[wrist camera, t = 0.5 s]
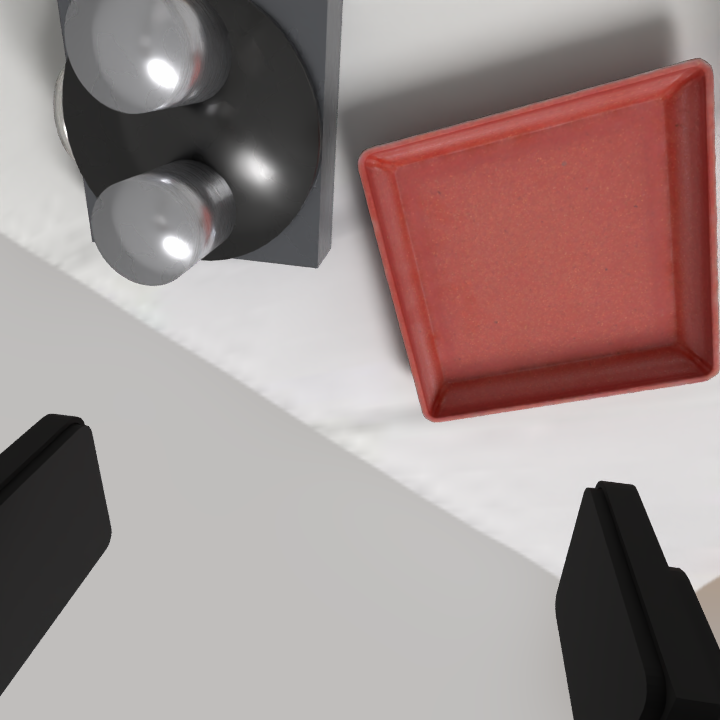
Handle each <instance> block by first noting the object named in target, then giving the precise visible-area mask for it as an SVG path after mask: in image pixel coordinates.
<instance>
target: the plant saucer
mask: <svg viewBox="0 0 720 720" xmlns="http://www.w3.org/2000/svg"><path fill="white" fill-rule="evenodd" d="M714 105H715V102H714V77H713V70H712V67H711V65H710V64H709V63H708V62H706V61H704V60H703V59H701V58H695V59H691V60H687V61H683V62H680V63H677V64H673V65H670V66H666V67H662V68H658V69H655V70H651V71H648V72H644V73H640V74H637V75H633V76H630V77H626V78H623V79H619V80H615V81H611V82H608V83H604V84H600V85H597V86H593V87H589V88H586V89H582V90H579V91H575V92H572V93H568V94H564V95H561V96H557V97H553V98H549V99H546V100H543V101H539V102H535V103H531V104H528V105H525V106H521V107H517V108H513V109H509V110H506V111H503V112H499V113H494V114H491V115H488V116H485V117H481V118H478V119H474V120H470V121H466V122H462V123H459V124H455V125H451V126H448V127H444V128H441V129H437V130H433V131H429V132H426V133H422V134H418V135H414V136H410V137H407V138H403V139H400V140H396V141H392V142H389V143H385V144H380V145H376V146H373V147H370V148H367V149H366V150H364V151H363V152H362V153H361V154H360V156H359V158H358V171H359V174H360V178H361V182H362V186H363V189H364V193H365V198H366V201H367V206H368V210H369V214H370V217H371V220H372V224H373V228H374V233H375V236H376V240H377V244H378V248H379V252H380V255H381V259H382V263H383V267H384V272H385V276H386V279H387V282H388V285H389V288H390V292H391V297H392V300H393V304H394V308H395V311H396V315H397V319H398V322H399V327H400V331H401V334H402V337H403V341H404V345H405V349H406V352H407V356H408V360H409V364H410V368H411V372H412V375H413V378H414V382H415V386H416V390H417V394H418V398H419V402H420V405H421V409H422V413H423V415H424V417H425V418H426V419H428V420H429V421H431V422H445V421H451V420H457V419H464V418H472V417H477V416H484V415H489V414H496V413H502V412H509V411H515V410H522V409H529V408H535V407H542V406H548V405H555V404H561V403H567V402H574V401H580V400H589V399H593V398H599V397H608V396H613V395H619V394H626V393H634V392H640V391H645V390H654V389H659V388H666V387H674V386H680V385H685V384H693V383H698V382H704V381H708V380H709V379H711V378H712V377H714V376H716V375H717V374H718V373H719V370H720V351H719V343H720V337H719V334H720V330H719V301H718V284H719V282H718V268H717V262H718V259H717V248H718V245H717V206H716V174H715V162H716V155H715V117H714Z"/></svg>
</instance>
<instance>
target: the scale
mask: <svg viewBox="0 0 720 720" xmlns="http://www.w3.org/2000/svg"><path fill="white" fill-rule="evenodd" d="M206 1H207V2H208V3H209V4H211V5H212V7H213V8H214V9H215V10H216V11H217V12H218V14H219V15H220V17H221V18H222V20H223V22H224V24H225V26H226V28H227V31H228V34H229V37H230V42H231V50H232V61H231V67H230V71H229V75H228V77H227V79H226V81H225V83H224V85H223V86H222V88H221V89H220V90H219V91H218V92H217V93H216V94H215V95H214V96H212V97H211V98H210V99H207V100H205V101H203V102H199V103H195V104H189V105H184V106H178V107H173V108H167V109H162V110H156V111H151V112H146V113H139V114H129V113H123V112H119V111H116V110H114V109H111V108H109V107H107V106H106V105H104V104H102V103H101V102H99V101H98V100H97V99H96V98H94V97H93V96H92V95H91V94H90V93H89V92H88V91H87V89H86V88H85V87H84V86H83V85H82V83H81V82H80V80H79V79H78V77H77V75H76V73H75V72H74V70H73V68H72V65H71V63H70V60H69V57H68V54H67V50H66V44H65V35H64V29H65V19H66V14H67V10H68V7H69V5H70V2H71V0H58V7H59V14H60V21H61V28H62V35H63V41H64V48H65V55H66V65H65V67H64V68H63V69H62V71H61V72H60V74H59V76H58V79H57V82H56V85H55V90H54V104H53V105H54V117H55V123H56V128H57V131H58V134H59V137H60V140H61V142H62V144H63V146H64V148H65V150H66V151H67V153H68V154H69V155H70V156H71V157H72V158H73V159H74V160H75V161H76V163H77V165H78V167H79V170H80V172H81V174H82V176H83V180H84V187H85V194H86V201H87V208H88V215H89V222H90V229H91V236H92V242H95V240H94V237H93V233H92V225H91V219H92V211H93V208H94V205H95V202H96V200H97V199H98V197H99V196H100V194H101V193H102V192H103V191H104V190H105V189H107V188H108V187H109V186H111V185H113V184H115V183H118V182H120V181H123V180H126V179H128V178H131V177H134V176H137V175H139V174H142V173H145V172H147V171H150V170H153V169H155V168H158V167H161V166H163V165H166V164H169V163H171V162H174V161H178V160H194V161H198V162H201V163H203V164H206V165H208V166H209V167H211V168H213V169H214V170H215V171H216V172H218V173H219V174H220V175H221V176H222V177H223V179H224V180H225V181H226V183H227V184H228V186H229V187H230V189H231V192H232V194H233V197H234V200H235V205H236V220H235V224H234V227H233V230H232V232H231V234H230V235H229V237H228V238H227V239H226V240H225V241H224V242H223V243H221V244H220V245H219V246H218V247H216V248H215V249H214V250H212V251H211V252H210V253H209V254H207V255H206V256H205V257H204V258H202V259H201V260H208V261H213V260H226V259H230V258H234V259H243V260H251V261H260V262H268V263H277V264H285V265H294V266H302V267H311V268H318V267H319V265H320V264H321V263H322V261H323V260H324V258H325V257H326V255H327V254H328V252H329V251H330V249H331V235H332V214H333V193H334V172H335V151H336V130H337V109H338V88H339V68H340V47H341V26H342V5H343V0H206Z"/></svg>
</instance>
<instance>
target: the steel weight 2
mask: <svg viewBox="0 0 720 720" xmlns="http://www.w3.org/2000/svg"><path fill="white" fill-rule="evenodd" d="M235 220H236V205H235V200H234V197H233V194H232V192H231V189H230V187H229V186H228V184H227V183H226V181H225V180H224V179H223V177H222V176H221V175H220V174H219V173H218V172H216V171H215V170H214V169H213V168H211V167H209V166H208V165H206V164H203V163H201V162H198V161H194V160H178V161H174V162H171V163H169V164H166V165H163V166H161V167H158V168H155V169H153V170H150V171H147V172H145V173H142V174H139V175H137V176H134V177H131V178H128V179H126V180H123V181H120V182H118V183H115V184H113V185H111V186H109V187H108V188H107V189H105V190H104V191H103V192H102V193H101V194H100V196H99V197H98V199H97V200H96V202H95V205H94V208H93V211H92V219H91V225H92V233H93V237H94V240H95V243H96V245H97V247H98V250H99V251H100V253H101V255H102V256H103V258H104V259H105V260H106V262H107V263H108V264H109V265H110V266H111V267H112V268H113V269H114V270H115V271H116V272H118V273H119V274H120V275H122V276H123V277H125V278H127V279H128V280H131V281H133V282H135V283H139V284H142V285H149V286H157V285H163V284H167V283H170V282H172V281H174V280H175V279H177V278H178V277H179V276H181V275H182V274H183V273H185V272H186V271H187V270H188V269H190V268H191V267H192V266H193V265H195V264H196V263H197V262H198V261H200V260H201V259H202V258H204V257H205V256H206V255H207V254H209V253H210V252H211V251H212V250H214V249H215V248H216V247H218V246H219V245H220V244H221V243H223V242H224V241H225V240H226V239H227V238H228V237H229V235H230V234H231V232H232V230H233V227H234V224H235Z"/></svg>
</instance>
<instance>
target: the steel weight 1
mask: <svg viewBox="0 0 720 720" xmlns="http://www.w3.org/2000/svg"><path fill="white" fill-rule="evenodd" d="M64 35H65V44H66V50H67V54H68V57H69V60H70V63H71V65H72V68H73V70H74V72H75V73H76V75H77V77H78V79H79V80H80V82H81V83H82V85H83V86H84V87H85V88H86V89H87V91H88V92H89V93H90V94H91V95H92V96H93V97H94V98H96V99H97V100H98V101H99V102H101V103H102V104H104V105H106V106H107V107H109V108H111V109H114V110H116V111H119V112H123V113H129V114H139V113H146V112H151V111H156V110H162V109H167V108H173V107H178V106H184V105H189V104H195V103H199V102H203V101H205V100H207V99H210V98H211V97H212V96H214V95H215V94H216V93H217V92H218V91H219V90H220V89H221V88H222V86H223V85H224V83H225V81H226V79H227V77H228V75H229V71H230V67H231V61H232V50H231V42H230V37H229V34H228V31H227V28H226V26H225V24H224V22H223V20H222V18H221V17H220V15H219V14H218V12H217V11H216V10H215V9H214V8H213V7H212V5H211V4H209V3H208V2H207V1H206V0H71V2H70V5H69V7H68V10H67V14H66V19H65V29H64Z"/></svg>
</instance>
